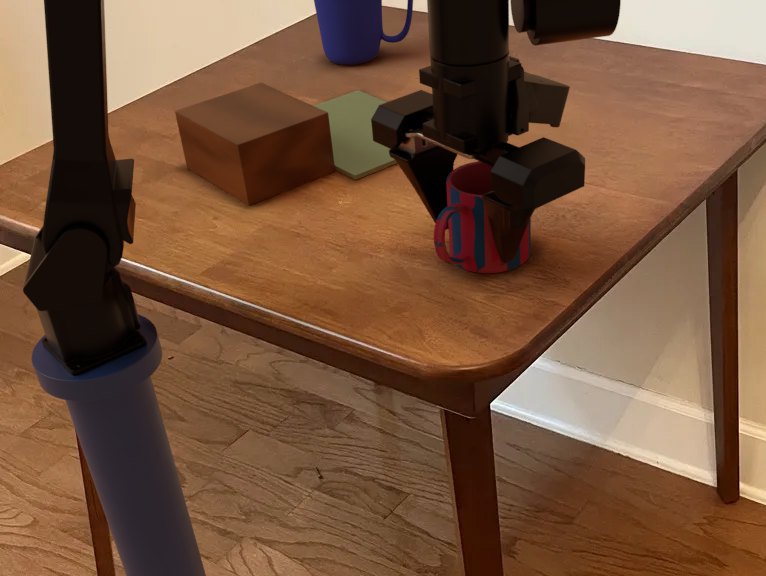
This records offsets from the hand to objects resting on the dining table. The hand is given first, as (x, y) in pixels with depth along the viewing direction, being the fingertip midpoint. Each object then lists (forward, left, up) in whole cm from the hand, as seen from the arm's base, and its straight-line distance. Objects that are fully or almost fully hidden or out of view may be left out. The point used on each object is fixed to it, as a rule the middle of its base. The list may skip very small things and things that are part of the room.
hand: (475, 244), depth 84 cm
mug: (+24, +47, -2) cm, 53 cm away
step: (-3, +29, -2) cm, 29 cm away
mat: (+9, +29, -2) cm, 30 cm away
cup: (0, 0, -2) cm, 2 cm away
